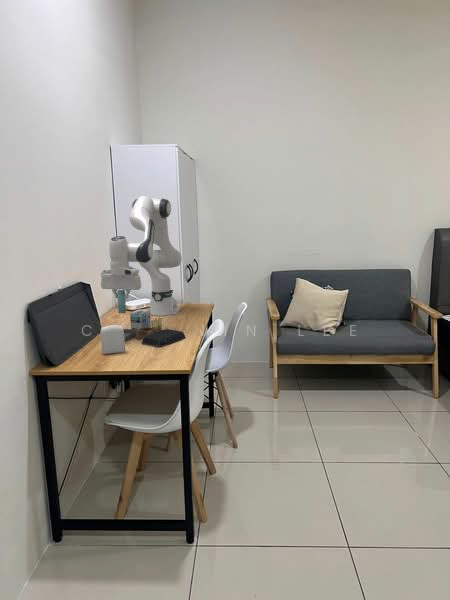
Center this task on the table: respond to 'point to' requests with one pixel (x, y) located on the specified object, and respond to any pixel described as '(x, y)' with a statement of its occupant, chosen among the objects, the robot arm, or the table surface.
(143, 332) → the socket block
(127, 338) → the tray
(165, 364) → the table surface
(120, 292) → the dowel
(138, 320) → the light bulb box
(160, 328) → the dog
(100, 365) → the table surface
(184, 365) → the table surface
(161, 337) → the external hard drive
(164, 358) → the table surface
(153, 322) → the dog
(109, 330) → the photo printer
